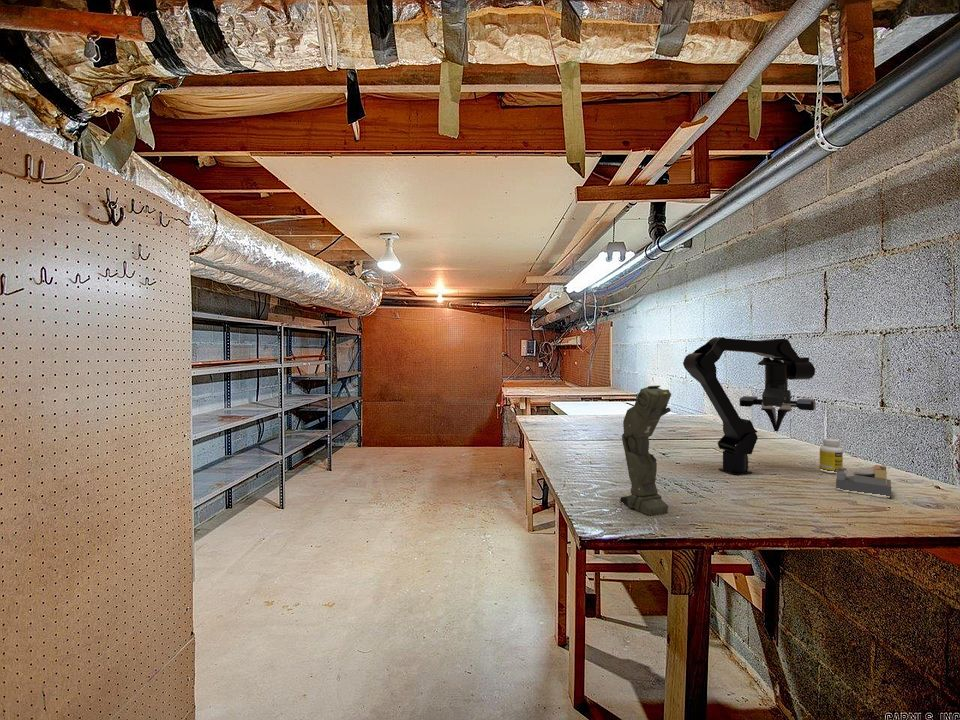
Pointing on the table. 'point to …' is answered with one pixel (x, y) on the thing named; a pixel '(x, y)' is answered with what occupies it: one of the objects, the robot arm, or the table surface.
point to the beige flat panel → (860, 471)
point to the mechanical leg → (644, 449)
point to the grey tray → (865, 482)
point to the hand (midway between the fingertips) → (776, 431)
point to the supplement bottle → (831, 455)
